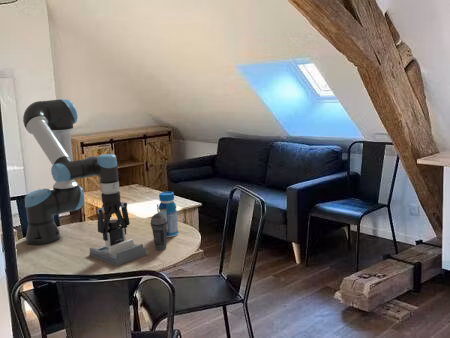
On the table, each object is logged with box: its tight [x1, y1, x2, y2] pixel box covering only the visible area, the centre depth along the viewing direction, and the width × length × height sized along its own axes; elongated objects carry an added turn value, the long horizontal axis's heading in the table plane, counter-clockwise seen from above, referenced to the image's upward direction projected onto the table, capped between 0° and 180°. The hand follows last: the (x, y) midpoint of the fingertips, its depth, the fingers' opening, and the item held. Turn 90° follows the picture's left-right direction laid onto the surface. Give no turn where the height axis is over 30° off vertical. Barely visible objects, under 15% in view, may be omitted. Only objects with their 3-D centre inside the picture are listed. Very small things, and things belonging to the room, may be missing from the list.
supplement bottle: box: [108, 219, 124, 249], centre depth 204 cm, size 7×7×12 cm
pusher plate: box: [109, 238, 135, 257], centre depth 202 cm, size 1×11×5 cm, turn 136°
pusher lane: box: [89, 243, 147, 267], centre depth 204 cm, size 20×15×5 cm
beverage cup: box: [150, 203, 168, 251], centre depth 208 cm, size 7×7×20 cm
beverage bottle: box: [158, 191, 179, 238], centre depth 225 cm, size 8×8×20 cm
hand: (115, 244), depth 205 cm, fingers closed on supplement bottle, 7 cm apart
